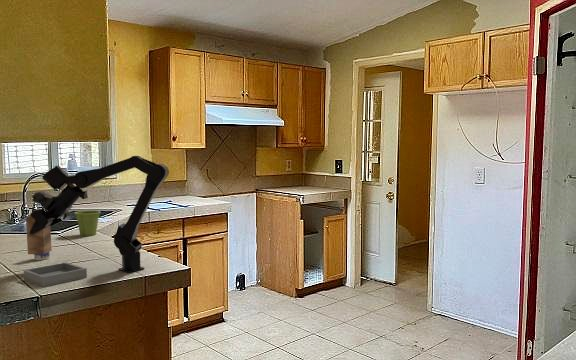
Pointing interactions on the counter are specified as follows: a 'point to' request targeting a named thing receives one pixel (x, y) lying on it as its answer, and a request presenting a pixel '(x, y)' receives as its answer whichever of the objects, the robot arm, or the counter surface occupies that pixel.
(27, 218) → the walnut block
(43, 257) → the pill bottle
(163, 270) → the counter surface
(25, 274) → the box
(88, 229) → the plant pot
